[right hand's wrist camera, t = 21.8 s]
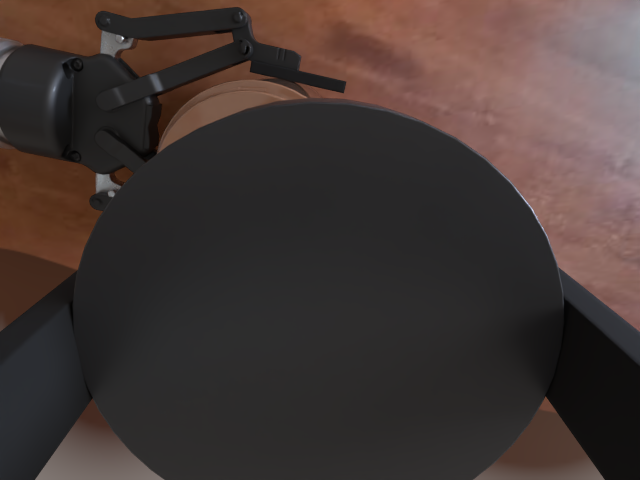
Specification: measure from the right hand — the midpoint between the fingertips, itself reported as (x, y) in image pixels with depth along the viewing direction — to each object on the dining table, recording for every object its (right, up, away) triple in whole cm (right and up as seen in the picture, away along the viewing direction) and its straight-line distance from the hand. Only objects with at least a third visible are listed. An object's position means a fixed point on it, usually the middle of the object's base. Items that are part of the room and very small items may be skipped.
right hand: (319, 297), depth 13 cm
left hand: (+1, +8, +20) cm, 21 cm away
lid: (0, -1, -2) cm, 3 cm away
